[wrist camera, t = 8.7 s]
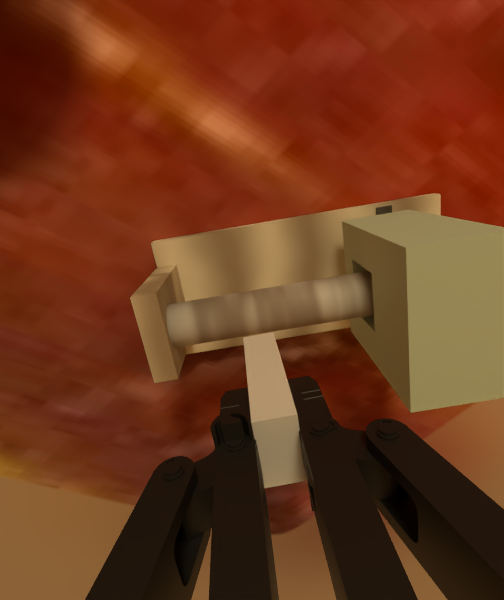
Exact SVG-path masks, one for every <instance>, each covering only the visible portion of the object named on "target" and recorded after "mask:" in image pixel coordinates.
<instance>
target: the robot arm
mask: <svg viewBox="0 0 504 600" xmlns="http://www.w3.org/2000/svg"><path fill="white" fill-rule="evenodd" d="M243 341H244V351H245V362H246V372H247V383H248V388H242V389H237V390H231V391H226V392H225V394H224V395H223V397H222V398H221V407H220V408H221V409H220V416H218V417H217V418H216V419H215V420H214V421H213V422H212V424H211V427H210V428H211V432H212V436H213V440H214V444H215V450H214V451H213V452H212V453H211V454H210V455H208V456H207V457H205V458H203V459H201V460H199V461H196V462H194V463H193V461H192V460H191V459H189V458H188V457H184V456H178V457H172V458H170V459H168V460H165V461H164V462H163V463H161V464H160V465H159V466H158V467H157V468H156V469H155V471H154V472H153V474H152V476H151V478H150V480H149V482H148V483H147V485H146V487H145V489H144V491H143V493H142V495H141V497H140V498H139V500H138V502H137V504H136V506H135V508H134V510H133V512H132V513H131V515H130V517H129V519H128V521H127V523H126V524H125V526H124V529H123V530H122V532H121V534H120V536H119V538H118V539H117V541H116V543H115V545H114V547H113V549H112V551H111V552H110V554H109V556H108V558H107V560H106V562H105V564H104V565H103V567H102V569H101V571H100V573H99V575H98V577H97V579H96V580H95V582H94V584H93V586H92V588H91V590H90V592H89V593H88V595H87V597H86V599H85V600H191V598H192V594H193V591H194V588H195V584H196V581H197V578H198V574H199V571H200V567H201V564H202V561H203V557H204V554H205V550H206V547H207V544H208V540H209V537H210V531H211V528H212V540H211V562H210V586H209V587H210V588H209V600H279V597H278V588H277V581H276V573H275V564H274V556H273V548H272V540H271V531H270V523H269V515H268V507H267V500H266V495H265V490H264V488H268V487H274V486H279V485H285V484H291V483H296V482H302V481H307V480H308V486H309V493H310V500H311V507H312V511H314V513H315V517H316V520H317V525H318V528H319V532H320V536H321V540H322V544H323V548H324V552H325V556H326V560H327V564H328V567H329V572H330V576H331V580H332V584H333V587H334V591H335V595H336V599H337V600H418V599H417V597H416V594H415V592H414V590H413V588H412V585H411V583H410V581H409V579H408V576H407V574H406V572H405V570H404V568H403V565H402V563H401V561H400V559H399V556H398V554H397V552H396V550H395V547H394V545H393V543H392V541H391V538H390V536H389V534H388V532H387V529H386V527H385V525H384V523H383V521H382V518H381V516H380V514H379V512H378V509H379V511H380V512H381V513H382V515H383V516H384V517H385V519H386V520H387V521H388V523H389V524H390V525H391V526H392V528H393V529H394V530H395V532H396V533H397V534H398V536H399V537H400V538H401V539H402V541H403V542H404V543H405V545H406V546H407V547H408V549H409V550H410V551H411V552H412V554H413V555H414V556H415V558H416V559H417V560H418V562H419V563H420V564H421V565H422V567H423V568H424V569H425V571H426V572H427V573H428V575H429V576H430V577H431V578H432V580H433V581H434V582H435V584H436V585H437V586H438V587H439V589H440V590H441V591H442V593H443V594H444V595H445V597H446V598H447V599H448V600H504V509H503V508H501V507H500V506H499V505H498V504H497V503H496V502H494V501H493V500H492V499H491V498H490V497H489V496H487V495H486V494H485V493H484V492H483V491H482V490H480V489H479V488H478V487H477V486H476V485H475V484H473V483H472V482H471V481H470V480H469V479H468V478H466V477H465V476H464V475H463V474H462V473H461V472H459V471H458V470H457V469H456V468H455V467H454V466H453V465H451V464H450V463H449V462H448V461H447V460H445V459H444V458H443V457H442V456H441V455H440V454H439V453H437V452H436V451H435V450H434V449H433V448H431V447H430V446H429V445H428V444H427V443H426V442H425V441H423V440H422V439H421V438H420V437H419V436H418V435H416V434H415V433H414V432H413V431H412V430H411V429H409V428H408V427H407V426H406V425H404V424H403V423H401V422H399V421H396V420H393V419H379V420H375V421H373V422H371V423H369V425H368V426H367V428H366V431H356V430H349V429H346V428H343V427H341V426H340V425H339V423H338V422H337V421H336V420H334V419H333V418H332V416H331V413H330V411H329V409H328V407H327V404H326V402H325V400H324V397H323V395H322V393H321V390H320V388H319V386H318V384H317V381H315V380H314V379H313V378H311V377H310V376H305V377H299V378H294V379H288V380H287V377H286V374H285V370H284V367H283V363H282V360H281V356H280V353H279V350H278V346H277V343H276V339H275V336H274V333H273V332H272V333H267V334H261V335H255V336H250V337H244V338H243ZM377 508H378V509H377Z"/></svg>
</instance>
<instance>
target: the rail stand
mask: <svg viewBox="0 0 504 600" xmlns="http://www.w3.org/2000/svg"><path fill="white" fill-rule="evenodd" d="M404 210H414V211H419V212H424V213H430V214H435V215H440V194H427V195H421V196H415V197H409V198H403V199H397V200H391V201H386V202H380V203H374V204H368V205H362V206H356V207H350V208H344V209H339V210H333V211H327V212H321V213H315V214H309V215H303V216H297V217H292V218H286V219H280V220H274V221H268V222H262V223H256V224H250V225H245V226H239V227H233V228H227V229H221V230H215V231H209V232H204V233H198V234H192V235H186V236H180V237H174V238H168V239H162V240H157V241H153V242H152V243H151V246H152V250H153V254H154V257H155V261H156V265H157V268H156V269H155V271H154V272H153V273H152V274H151V275H150V276H149V277H148V278H147V279H146V281H145V282H144V283H143V284H142V285H141V286H140V287H139V288H138V289H137V291H136V292H135V293H134V294H133V295H132V296H131V297H130V299H131V302H132V306H133V309H134V313H135V316H136V320H137V323H138V327H139V330H140V334H141V338H142V341H143V345H144V348H145V352H146V355H147V359H148V362H149V366H150V369H151V373H152V376H153V380H154V383H157V382H163V381H169V380H175V379H178V378H179V375H180V372H181V368H182V365H183V362H184V358H185V355H186V354H191V353H198V352H204V351H210V350H216V349H222V348H228V347H234V346H240V345H244V341H243V338H244V337H250V336H255V335H261V334H267V333H272V332H273V333H274V336H275V339H276V340H277V339H283V338H289V337H295V336H301V335H307V334H313V333H319V332H325V331H331V330H337V329H344V328H350V327H351V325H350V319H353V318H359V317H365V316H371V315H374V305H373V288H372V273H371V272H369V271H365V272H359V273H353V274H347V275H346V265H345V253H344V242H343V230H342V221H345V220H351V219H356V218H362V217H368V216H374V215H380V214H386V213H392V212H398V211H404Z"/></svg>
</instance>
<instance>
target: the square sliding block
mask: <svg viewBox="0 0 504 600" xmlns="http://www.w3.org/2000/svg"><path fill="white" fill-rule="evenodd" d="M342 230H343V242H344V253H345V265H346V275H347V274H353V273H359V272H365V271H369V272H371V273H372V288H373V305H374V315H371V316H365V317H359V318H353V319H350V325H351V332H352V333H353V335H354V336H355V337H356V339H357V340H358V341H359V343H360V344H361V345H362V347H363V348H364V350H365V351H366V352H367V354H368V355H369V356H370V358H371V359H372V360H373V362H374V363H375V365H376V366H377V367H378V369H379V370H380V371H381V373H382V374H383V375H384V377H385V378H386V380H387V381H388V382H389V384H390V385H391V386H392V388H393V389H394V390H395V392H396V393H397V394H398V396H399V397H400V399H401V400H402V401H403V403H404V404H405V405H406V407H407V408H408V409H409V411H410V412H418V411H424V410H430V409H436V408H443V407H449V406H455V405H461V404H468V403H474V402H480V401H486V400H493V399H499V398H504V227H499V226H494V225H488V224H483V223H478V222H472V221H467V220H462V219H456V218H451V217H446V216H440V215H435V214H430V213H424V212H419V211H414V210H404V211H398V212H392V213H386V214H380V215H374V216H368V217H362V218H356V219H351V220H345V221H342Z"/></svg>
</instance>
